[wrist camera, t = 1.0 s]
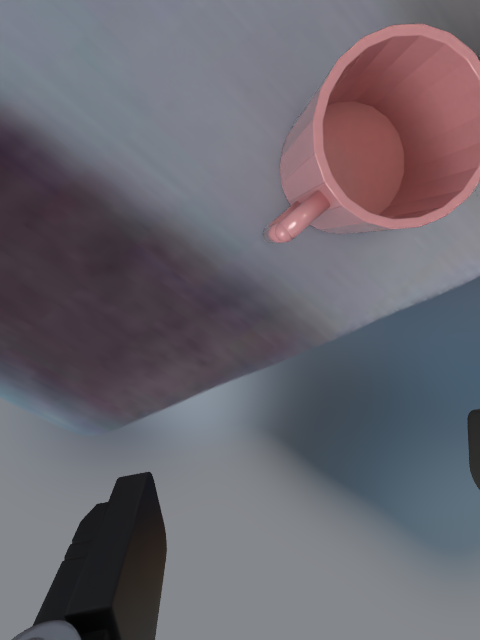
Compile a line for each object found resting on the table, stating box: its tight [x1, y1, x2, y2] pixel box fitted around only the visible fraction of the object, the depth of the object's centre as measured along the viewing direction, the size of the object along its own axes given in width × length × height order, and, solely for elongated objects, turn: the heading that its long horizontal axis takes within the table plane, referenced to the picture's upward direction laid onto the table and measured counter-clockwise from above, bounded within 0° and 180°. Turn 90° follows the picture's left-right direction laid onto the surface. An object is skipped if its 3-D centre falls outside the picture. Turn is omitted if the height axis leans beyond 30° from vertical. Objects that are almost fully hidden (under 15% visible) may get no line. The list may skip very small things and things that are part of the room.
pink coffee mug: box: [263, 24, 480, 243], centre depth 28 cm, size 15×11×11 cm
